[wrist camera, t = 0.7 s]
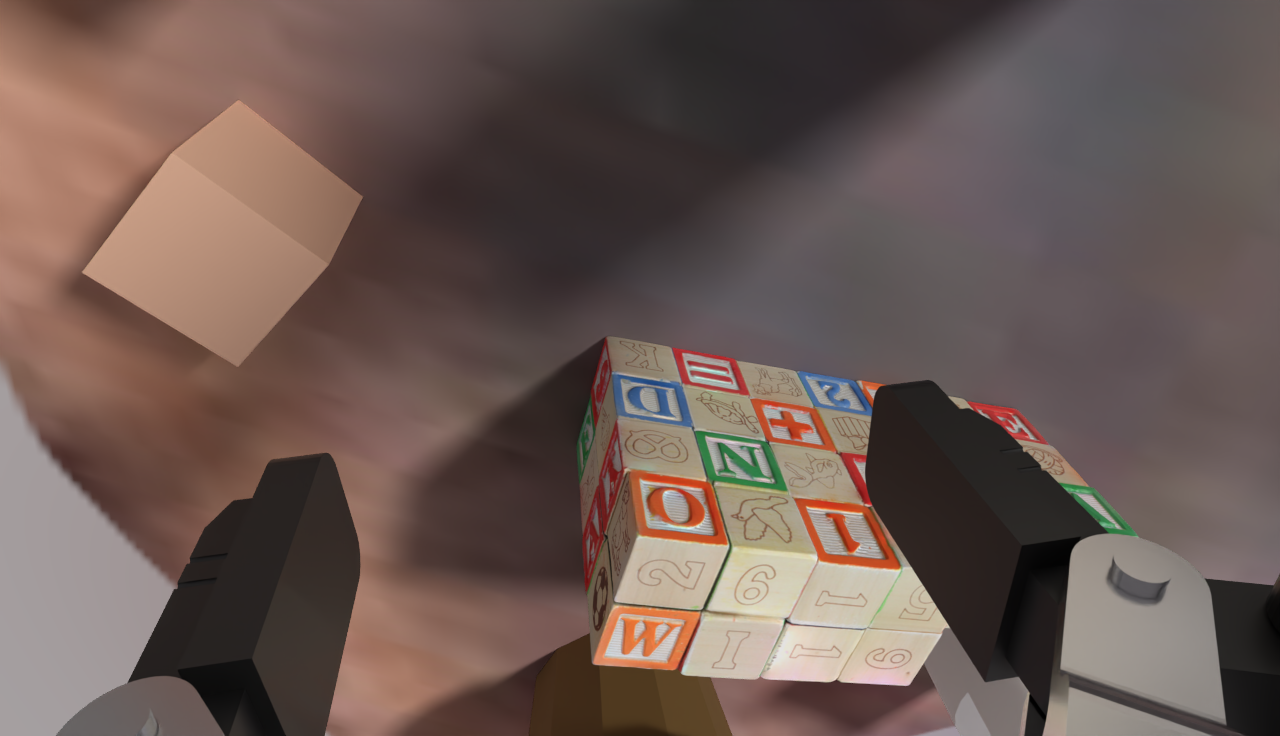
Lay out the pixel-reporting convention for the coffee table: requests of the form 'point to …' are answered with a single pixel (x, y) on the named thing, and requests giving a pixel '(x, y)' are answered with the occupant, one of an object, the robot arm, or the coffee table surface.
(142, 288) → the tan block
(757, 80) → the coffee table surface
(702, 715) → the flowerpot
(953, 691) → the cylinder with rectangular tab
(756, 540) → the stack of blocks
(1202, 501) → the coffee table surface
